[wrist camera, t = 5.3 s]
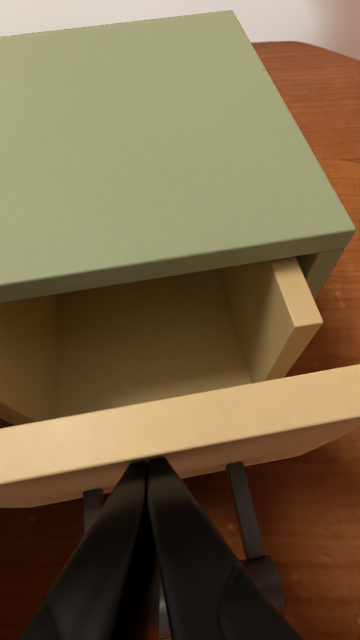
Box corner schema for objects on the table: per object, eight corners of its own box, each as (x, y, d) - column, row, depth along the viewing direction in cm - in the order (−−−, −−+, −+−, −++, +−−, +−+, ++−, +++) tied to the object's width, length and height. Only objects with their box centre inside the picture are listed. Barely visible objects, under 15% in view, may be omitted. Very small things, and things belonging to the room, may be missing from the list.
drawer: (340, 576, 12) (521, 661, 6) (24, 644, 12) (-205, 833, 5) (230, 236, 20) (249, 99, 14) (38, 265, 20) (-43, 138, 13)
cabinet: (277, 363, 17) (358, 229, 9) (28, 407, 17) (-137, 306, 8) (218, 184, 24) (232, 9, 16) (36, 210, 23) (-51, 42, 15)
